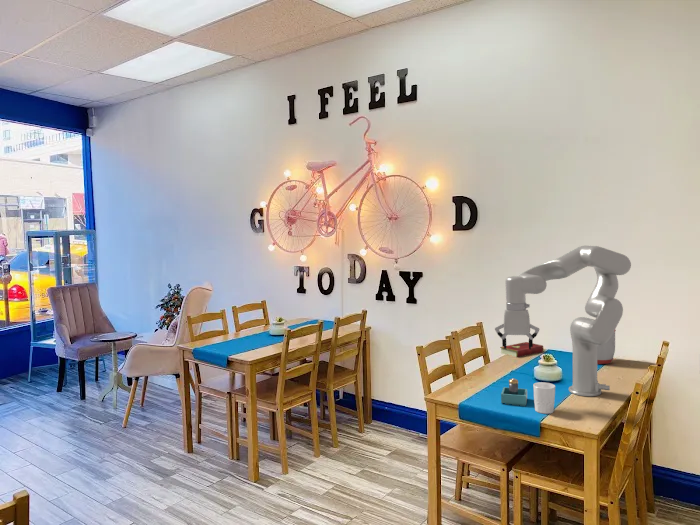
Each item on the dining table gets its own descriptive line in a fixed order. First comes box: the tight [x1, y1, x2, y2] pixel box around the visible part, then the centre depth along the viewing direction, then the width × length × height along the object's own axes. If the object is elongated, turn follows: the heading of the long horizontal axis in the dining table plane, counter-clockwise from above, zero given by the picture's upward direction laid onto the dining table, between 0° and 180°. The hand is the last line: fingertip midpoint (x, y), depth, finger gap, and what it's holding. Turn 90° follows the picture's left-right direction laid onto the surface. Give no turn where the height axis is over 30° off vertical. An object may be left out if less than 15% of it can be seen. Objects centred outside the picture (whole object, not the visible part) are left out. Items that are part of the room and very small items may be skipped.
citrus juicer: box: [596, 329, 616, 365], centre depth 267 cm, size 16×17×20 cm
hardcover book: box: [500, 341, 544, 358], centre depth 292 cm, size 12×21×4 cm, turn 120°
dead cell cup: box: [500, 386, 528, 407], centre depth 213 cm, size 9×9×4 cm
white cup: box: [532, 381, 556, 415], centre depth 201 cm, size 8×8×10 cm
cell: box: [508, 377, 519, 395], centre depth 213 cm, size 4×4×9 cm
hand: (517, 348), depth 214 cm, fingers open, 9 cm apart
